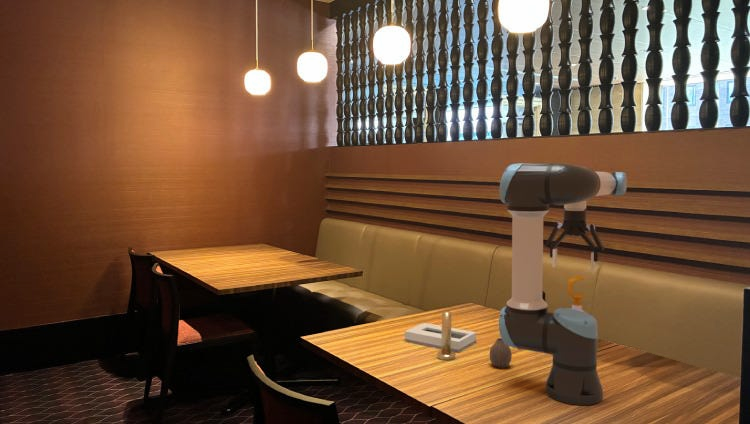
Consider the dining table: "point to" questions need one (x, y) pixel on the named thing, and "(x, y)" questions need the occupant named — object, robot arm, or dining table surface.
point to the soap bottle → (577, 297)
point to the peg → (446, 338)
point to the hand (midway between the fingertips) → (573, 268)
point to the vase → (500, 354)
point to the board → (439, 337)
